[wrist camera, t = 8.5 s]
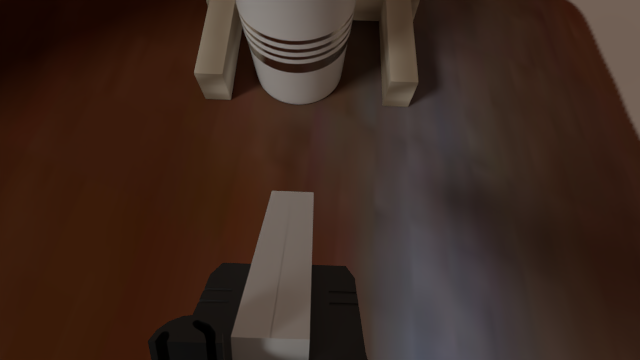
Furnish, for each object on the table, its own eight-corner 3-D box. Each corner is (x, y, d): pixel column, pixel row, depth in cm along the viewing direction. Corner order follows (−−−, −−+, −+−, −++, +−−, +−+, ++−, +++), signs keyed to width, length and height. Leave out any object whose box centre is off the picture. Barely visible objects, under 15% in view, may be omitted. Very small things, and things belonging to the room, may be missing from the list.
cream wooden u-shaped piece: (193, 98, 28) (177, 67, 25) (213, -3, 32) (202, -40, 29) (420, 107, 28) (434, 78, 25) (410, 6, 32) (422, -30, 29)
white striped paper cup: (221, 90, 28) (163, -64, 17) (265, 17, 31) (240, -153, 20) (338, 130, 27) (358, -8, 16) (372, 50, 30) (407, -111, 19)
